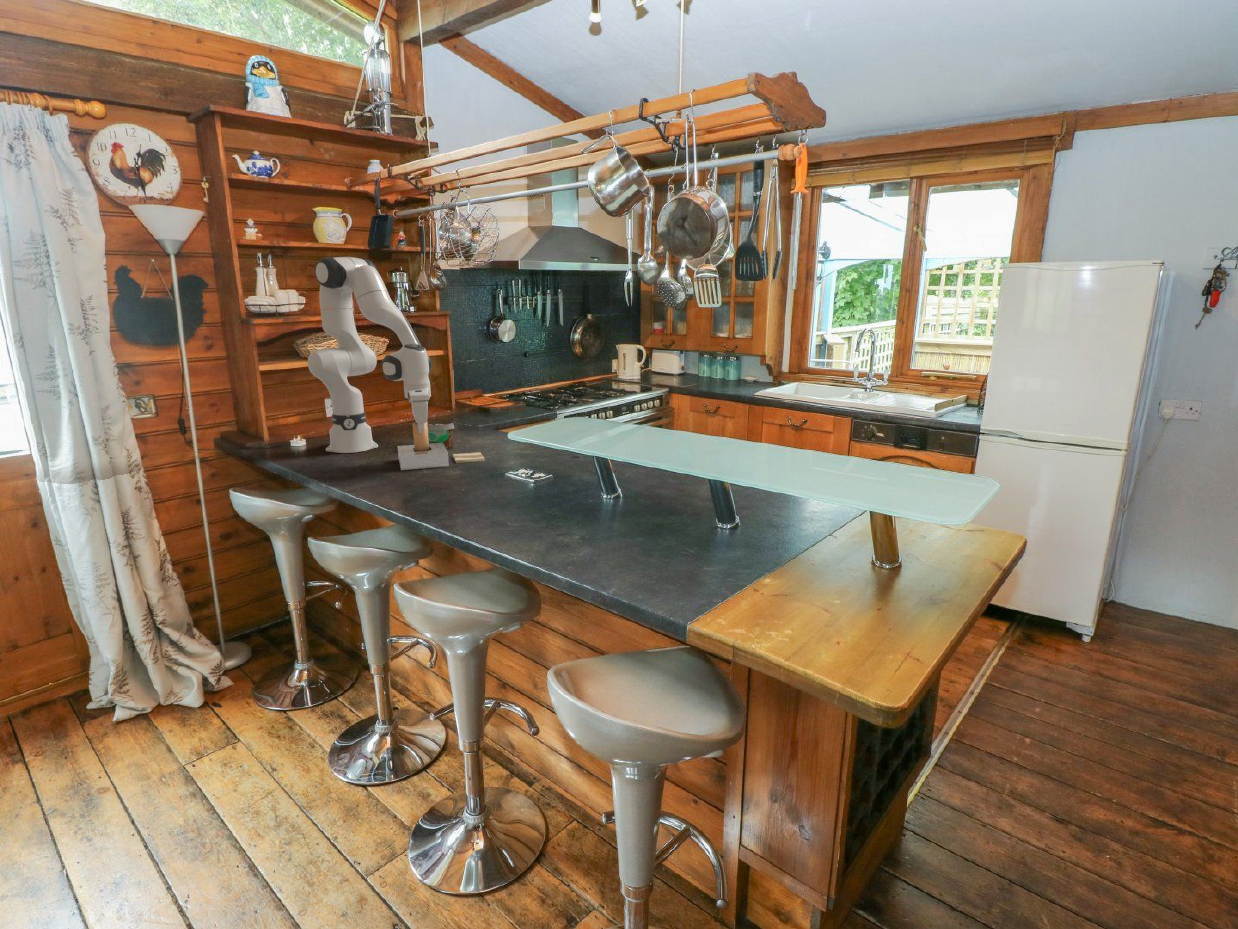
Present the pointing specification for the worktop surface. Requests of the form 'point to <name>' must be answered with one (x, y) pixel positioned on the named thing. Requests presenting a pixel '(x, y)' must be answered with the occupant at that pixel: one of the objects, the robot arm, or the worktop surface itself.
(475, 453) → the coaster
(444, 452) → the housing
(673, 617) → the worktop surface
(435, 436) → the food container
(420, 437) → the tan grey-topped cylinder
